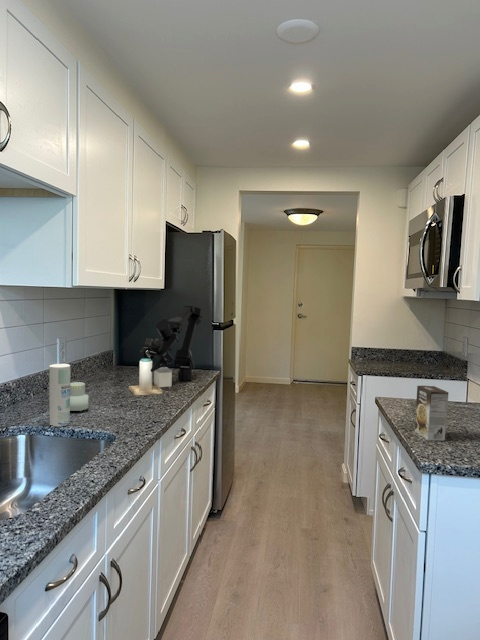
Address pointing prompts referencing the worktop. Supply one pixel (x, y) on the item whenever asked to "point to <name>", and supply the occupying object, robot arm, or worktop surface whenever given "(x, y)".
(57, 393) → the spray can
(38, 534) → the worktop surface
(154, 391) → the refill tray
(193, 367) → the robot arm
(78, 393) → the air freshener
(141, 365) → the cartridge
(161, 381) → the box
